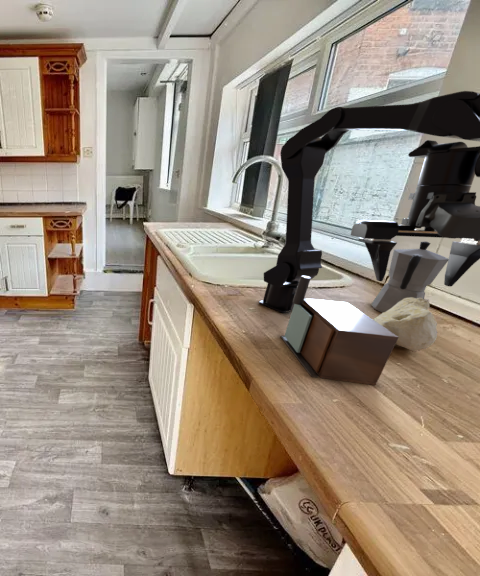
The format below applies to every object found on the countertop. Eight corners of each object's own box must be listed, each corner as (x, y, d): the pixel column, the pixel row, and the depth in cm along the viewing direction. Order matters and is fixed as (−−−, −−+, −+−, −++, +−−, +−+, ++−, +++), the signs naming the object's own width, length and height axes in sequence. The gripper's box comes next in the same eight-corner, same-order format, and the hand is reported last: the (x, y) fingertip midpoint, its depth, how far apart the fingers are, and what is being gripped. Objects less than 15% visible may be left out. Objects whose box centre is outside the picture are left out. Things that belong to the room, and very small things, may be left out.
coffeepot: (376, 299, 85) (403, 234, 78) (423, 311, 78) (457, 242, 71) (362, 313, 76) (392, 241, 69) (414, 328, 69) (453, 251, 62)
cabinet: (280, 336, 63) (293, 296, 59) (331, 342, 61) (347, 302, 58) (311, 376, 51) (329, 329, 47) (375, 385, 49) (399, 337, 46)
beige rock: (397, 373, 56) (494, 334, 52) (372, 338, 57) (465, 297, 53) (356, 353, 71) (429, 321, 66) (337, 326, 72) (407, 292, 67)
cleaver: (280, 335, 62) (299, 274, 57) (288, 336, 62) (308, 275, 57) (293, 352, 56) (315, 286, 51) (302, 353, 56) (326, 287, 51)
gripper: (399, 183, 43) (370, 290, 47) (590, 182, 37) (537, 304, 41) (360, 186, 53) (339, 274, 57) (505, 186, 47) (470, 284, 52)
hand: (412, 283), depth 52 cm, fingers open, 9 cm apart
